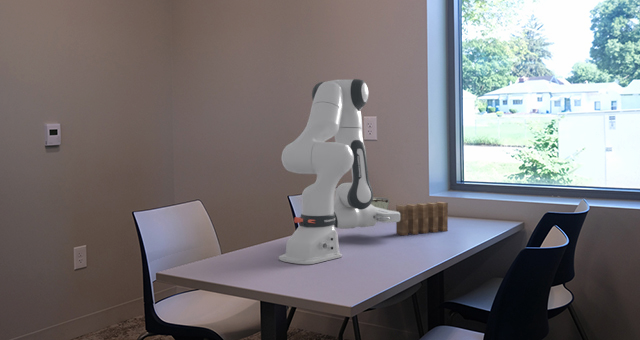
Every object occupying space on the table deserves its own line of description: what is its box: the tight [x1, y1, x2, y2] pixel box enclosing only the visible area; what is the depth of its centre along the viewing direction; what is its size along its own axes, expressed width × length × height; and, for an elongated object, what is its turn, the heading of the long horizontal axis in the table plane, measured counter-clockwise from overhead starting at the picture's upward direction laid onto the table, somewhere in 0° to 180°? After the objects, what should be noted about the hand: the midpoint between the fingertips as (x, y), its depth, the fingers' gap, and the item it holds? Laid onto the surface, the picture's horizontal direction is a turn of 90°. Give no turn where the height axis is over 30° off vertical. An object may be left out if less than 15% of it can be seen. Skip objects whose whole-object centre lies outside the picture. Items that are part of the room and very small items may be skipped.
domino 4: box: [425, 202, 439, 233], centre depth 225 cm, size 2×5×12 cm, turn 24°
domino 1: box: [395, 204, 409, 237], centre depth 219 cm, size 2×5×12 cm, turn 24°
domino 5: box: [435, 201, 449, 232], centre depth 227 cm, size 2×5×12 cm, turn 24°
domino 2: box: [405, 203, 419, 236], centre depth 221 cm, size 2×5×12 cm, turn 24°
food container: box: [371, 197, 390, 210], centre depth 262 cm, size 12×6×10 cm, turn 84°
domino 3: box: [415, 202, 429, 234], centre depth 223 cm, size 2×5×12 cm, turn 24°
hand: (397, 213), depth 218 cm, fingers closed
